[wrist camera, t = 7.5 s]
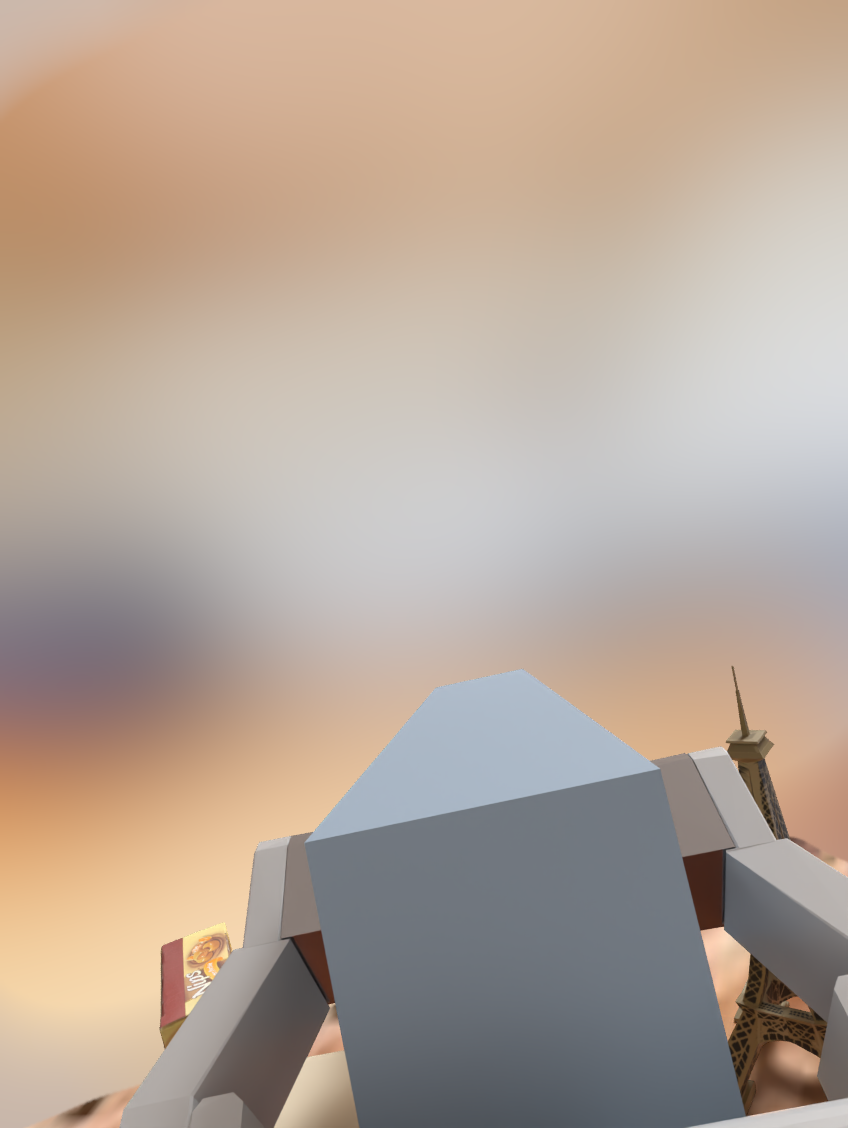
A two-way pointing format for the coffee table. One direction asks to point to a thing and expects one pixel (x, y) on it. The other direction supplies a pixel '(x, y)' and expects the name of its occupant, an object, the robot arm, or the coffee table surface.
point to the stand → (321, 1095)
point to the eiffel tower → (763, 991)
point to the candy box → (189, 974)
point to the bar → (516, 927)
